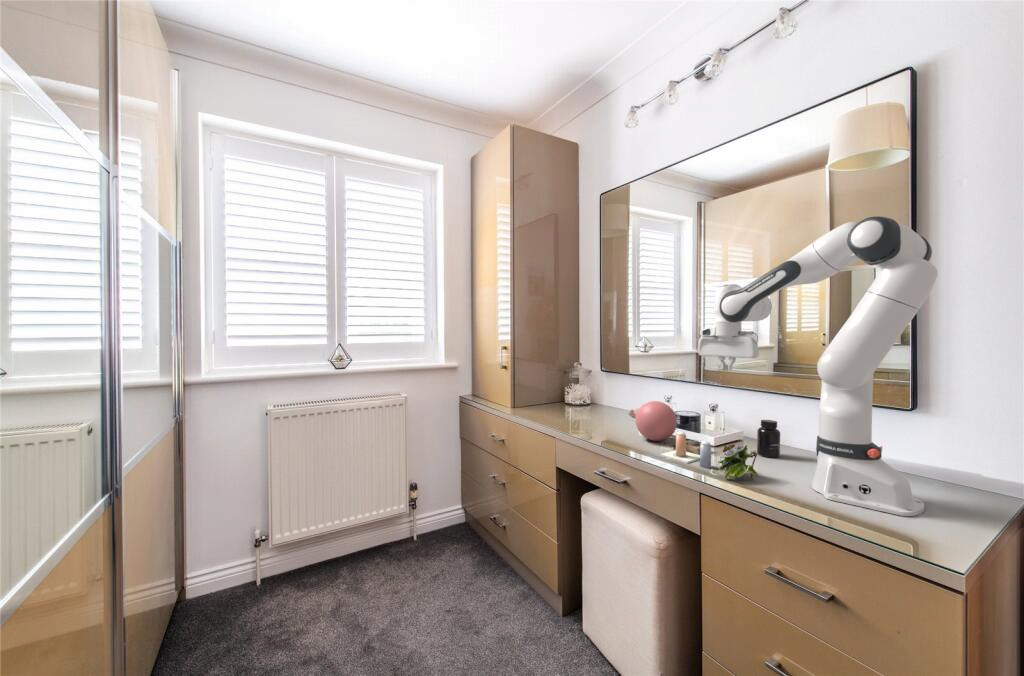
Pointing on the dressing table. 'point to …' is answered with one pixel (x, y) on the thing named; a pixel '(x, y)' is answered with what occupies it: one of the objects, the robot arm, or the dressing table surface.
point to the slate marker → (705, 454)
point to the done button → (693, 443)
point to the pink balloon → (655, 420)
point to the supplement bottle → (768, 439)
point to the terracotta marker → (680, 444)
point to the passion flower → (737, 462)
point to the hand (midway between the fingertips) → (726, 369)
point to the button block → (693, 448)
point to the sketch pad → (688, 459)
